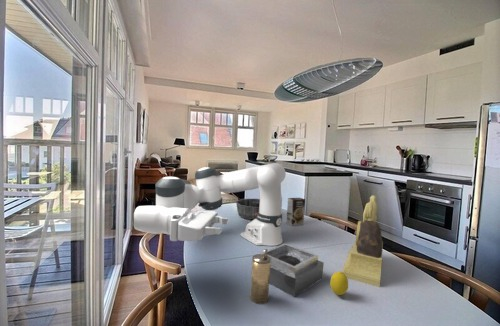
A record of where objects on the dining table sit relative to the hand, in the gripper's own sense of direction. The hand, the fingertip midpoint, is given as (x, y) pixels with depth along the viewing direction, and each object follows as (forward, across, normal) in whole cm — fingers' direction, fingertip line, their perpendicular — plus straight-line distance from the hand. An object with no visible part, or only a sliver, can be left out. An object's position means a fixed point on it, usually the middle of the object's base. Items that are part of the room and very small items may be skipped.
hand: (224, 225), depth 81 cm
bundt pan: (+1, -91, -22) cm, 94 cm away
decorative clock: (+52, -31, -22) cm, 65 cm away
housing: (+21, -16, -22) cm, 34 cm away
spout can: (+12, 0, -22) cm, 25 cm away
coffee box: (+27, -83, -22) cm, 90 cm away
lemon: (+38, -7, -22) cm, 44 cm away
